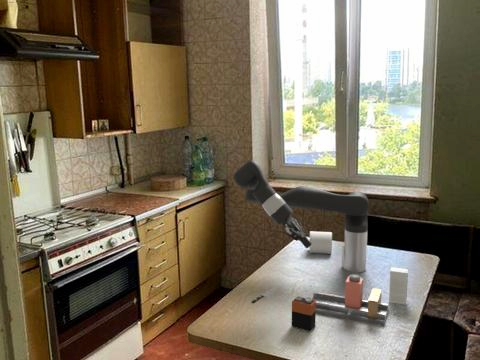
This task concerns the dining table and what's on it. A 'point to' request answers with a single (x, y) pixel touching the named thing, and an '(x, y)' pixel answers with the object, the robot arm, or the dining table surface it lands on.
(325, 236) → the toilet paper
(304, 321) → the battery
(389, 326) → the dining table surface
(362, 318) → the rail
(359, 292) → the pink dome-topped pillar
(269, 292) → the chef's knife
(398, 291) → the skincare box
